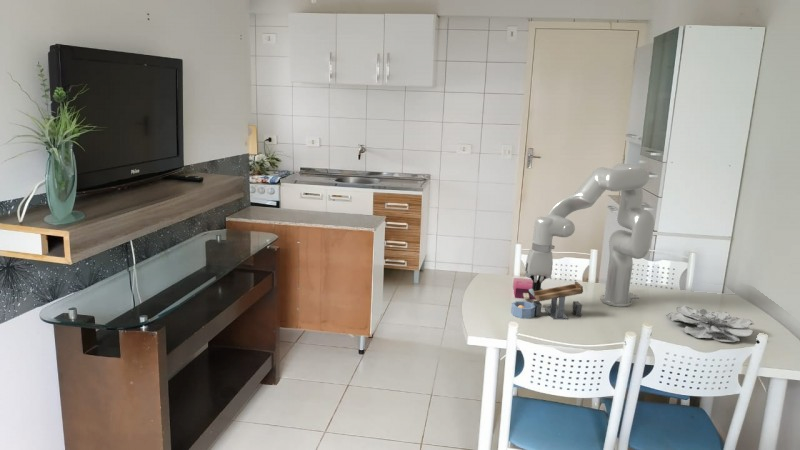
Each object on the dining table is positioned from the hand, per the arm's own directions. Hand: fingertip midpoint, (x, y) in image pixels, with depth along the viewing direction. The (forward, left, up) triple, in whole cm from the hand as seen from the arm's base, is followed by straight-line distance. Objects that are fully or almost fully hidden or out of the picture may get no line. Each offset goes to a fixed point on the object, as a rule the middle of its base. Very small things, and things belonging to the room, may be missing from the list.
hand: (535, 291), depth 236 cm
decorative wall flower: (-64, +19, -8) cm, 67 cm away
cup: (+7, +6, -8) cm, 12 cm away
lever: (-7, +3, 0) cm, 8 cm away
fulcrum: (-7, +6, -8) cm, 12 cm away
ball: (+8, +6, -6) cm, 11 cm away
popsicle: (-1, -16, -8) cm, 18 cm away
